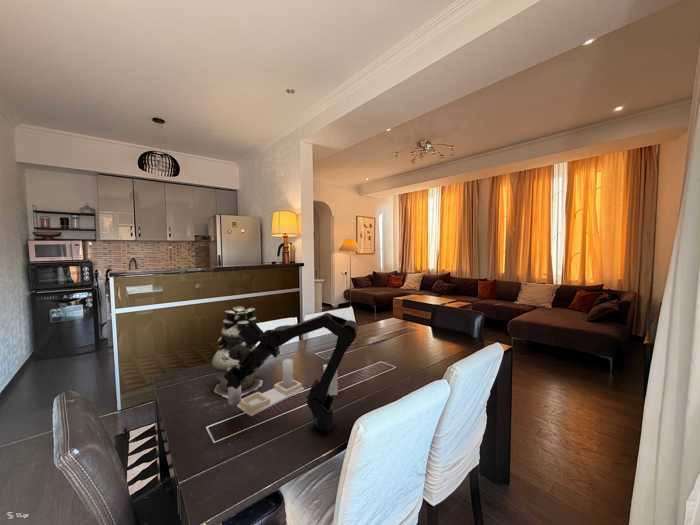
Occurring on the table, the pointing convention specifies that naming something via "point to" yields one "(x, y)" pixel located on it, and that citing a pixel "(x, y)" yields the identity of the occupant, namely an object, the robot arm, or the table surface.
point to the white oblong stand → (272, 392)
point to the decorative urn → (227, 341)
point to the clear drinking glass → (234, 391)
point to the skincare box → (333, 383)
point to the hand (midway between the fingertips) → (230, 383)
